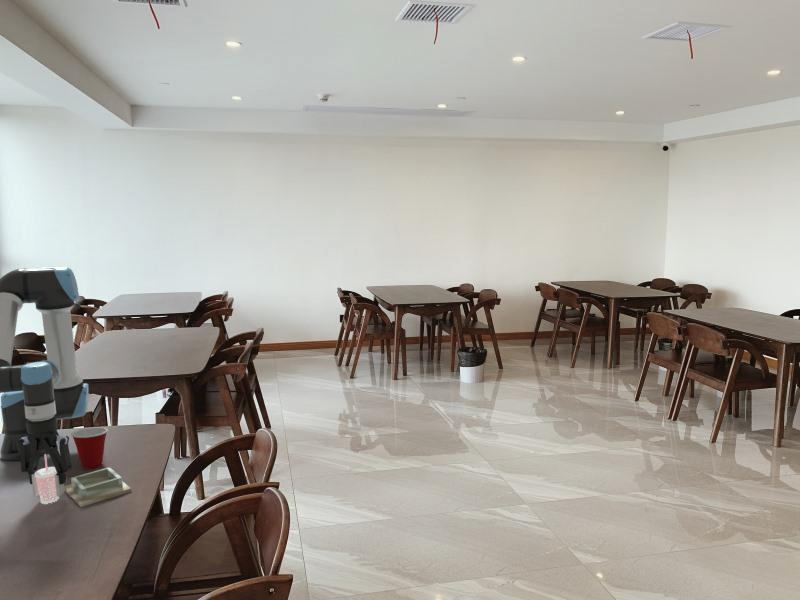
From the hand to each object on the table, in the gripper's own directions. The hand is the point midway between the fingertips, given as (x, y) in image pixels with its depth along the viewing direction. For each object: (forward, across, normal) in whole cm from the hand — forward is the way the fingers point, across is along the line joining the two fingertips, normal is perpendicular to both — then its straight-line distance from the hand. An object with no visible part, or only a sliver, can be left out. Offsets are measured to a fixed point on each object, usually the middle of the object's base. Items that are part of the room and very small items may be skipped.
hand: (49, 494), depth 177 cm
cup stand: (+2, +11, +6) cm, 13 cm away
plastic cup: (+2, -1, +25) cm, 25 cm away
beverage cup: (+2, 0, 0) cm, 2 cm away
